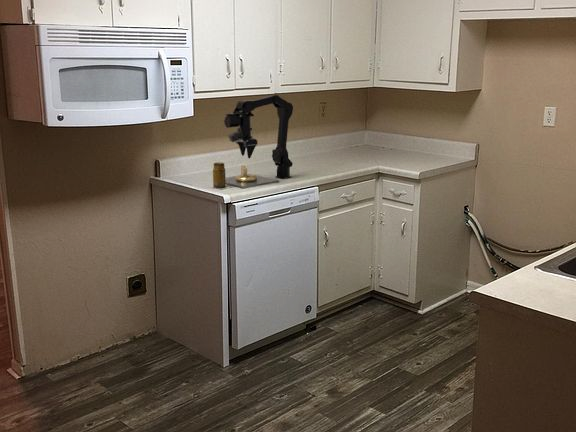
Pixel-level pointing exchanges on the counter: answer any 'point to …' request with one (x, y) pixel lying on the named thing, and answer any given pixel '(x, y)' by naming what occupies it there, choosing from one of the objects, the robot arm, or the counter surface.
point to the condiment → (219, 176)
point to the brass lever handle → (245, 175)
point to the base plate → (249, 182)
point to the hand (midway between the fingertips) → (246, 156)
